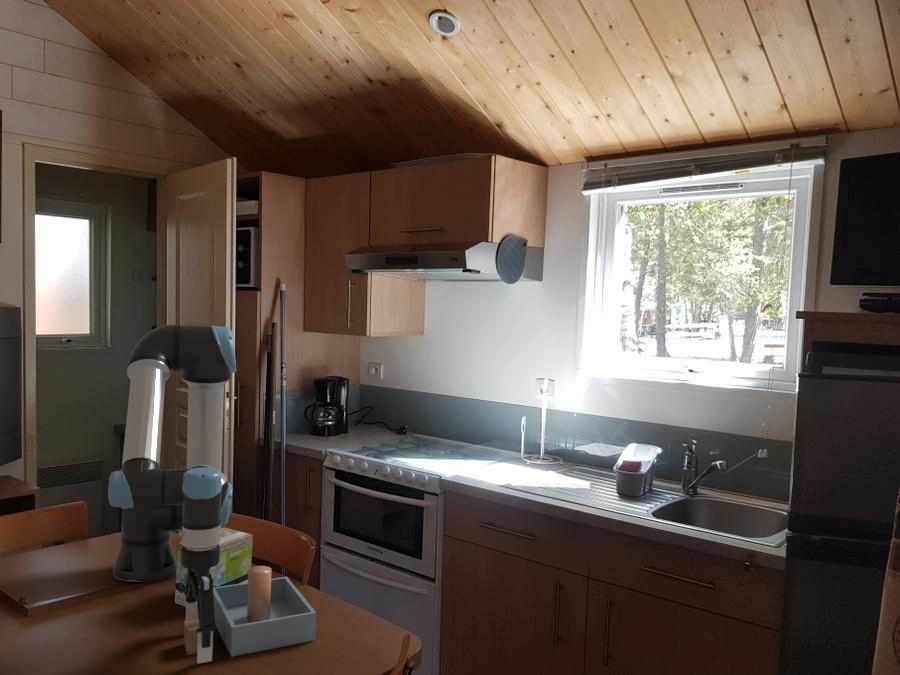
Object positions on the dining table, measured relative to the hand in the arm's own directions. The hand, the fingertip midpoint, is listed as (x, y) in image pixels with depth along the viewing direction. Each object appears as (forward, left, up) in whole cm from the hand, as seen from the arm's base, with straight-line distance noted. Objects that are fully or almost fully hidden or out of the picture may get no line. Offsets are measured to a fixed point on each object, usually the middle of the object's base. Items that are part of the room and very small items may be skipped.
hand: (198, 646), depth 151 cm
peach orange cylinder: (-6, +14, +1) cm, 15 cm away
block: (0, 0, 0) cm, 0 cm away
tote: (-4, +14, 0) cm, 15 cm away
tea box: (-23, +8, 0) cm, 25 cm away
